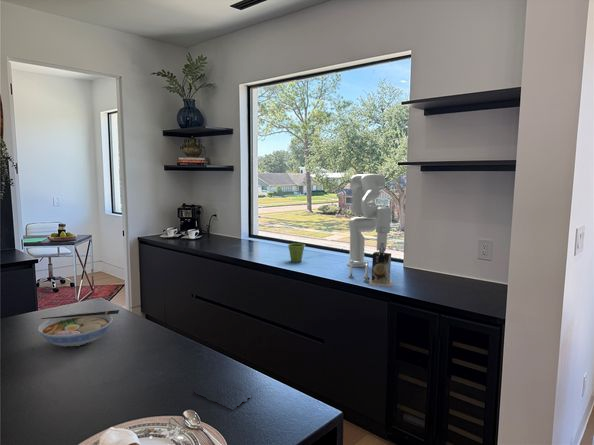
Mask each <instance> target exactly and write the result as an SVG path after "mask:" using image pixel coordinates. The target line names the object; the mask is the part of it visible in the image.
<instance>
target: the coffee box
mask: <svg viewBox="0 0 594 445" xmlns="http://www.w3.org/2000/svg"><path fill="white" fill-rule="evenodd" d="M384 255H385V258H384V263H380V262H378V256H379V251H375V252H372V262H371V263H372V265H371V267H372V268H371V279H372V281H371V282H376V283H384V284H388V283H389V282H390V280H391V268H392V267H391V265H392V264H391V262H392V253H389V252H385V253H384Z"/></svg>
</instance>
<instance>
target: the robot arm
mask: <svg viewBox="0 0 594 445" xmlns="http://www.w3.org/2000/svg"><path fill="white" fill-rule="evenodd" d="M386 182H387V180H386V178H385V176H384V175H383V174H380V173H366V174H353V175H352V176H351V177H350V189H351V192H352V198H351V212H352V214H353V215H354V216H357V217H352V218H350V219H349V222H348V226H349V228H348V229H349V261H347V262H346V265H347V266H349V267H350V261H358V262H365V242H366V240H365V237H364V235H363V234H362V233H372V232H374V231H375V233H377V236H376V252H379V256H378V262H380V263H384V258H385V255H384V253H386V250H387V245H388V234H390V233H391V231H390V230H391V214H392V209H391V207H388V206H387V205H384V204H383V205H382V204H378V205H377V204H376V202H375V201H374V200H377V199H379V196H380V195H381V191H380V189H382V188H384V187H385V186H386ZM358 216H359V217H358ZM360 216H361V217H360ZM363 216H364V217H363ZM365 265H366V264H363V263H353V267H355V268H363V267H364V268H365Z"/></svg>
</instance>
